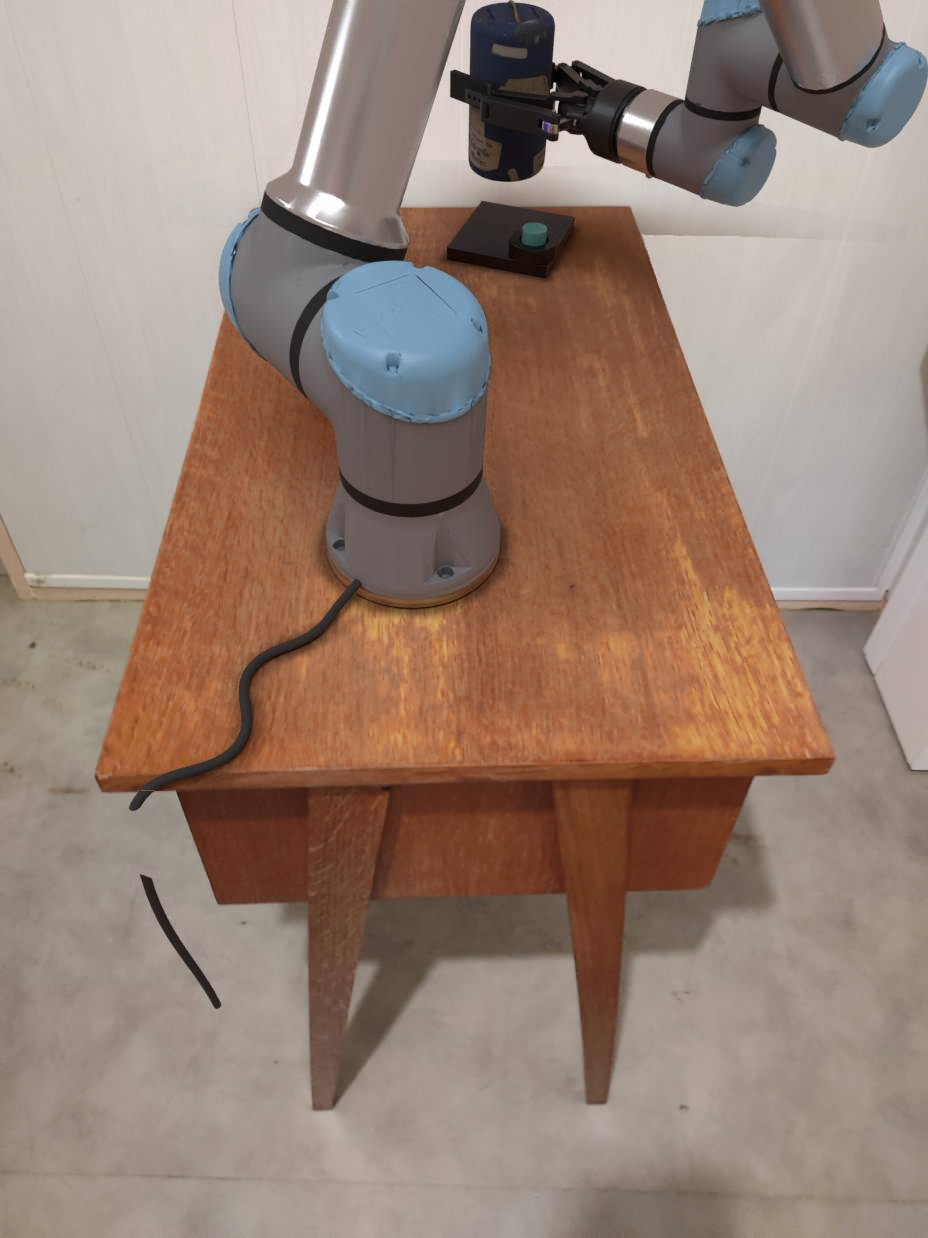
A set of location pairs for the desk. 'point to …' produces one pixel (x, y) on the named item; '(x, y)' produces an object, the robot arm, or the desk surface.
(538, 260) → the black flat square block
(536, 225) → the button
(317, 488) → the desk surface
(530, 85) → the canister
